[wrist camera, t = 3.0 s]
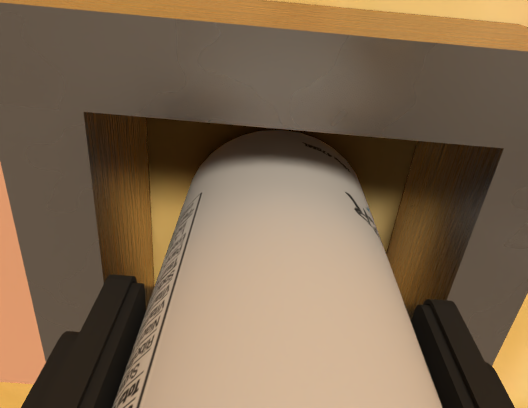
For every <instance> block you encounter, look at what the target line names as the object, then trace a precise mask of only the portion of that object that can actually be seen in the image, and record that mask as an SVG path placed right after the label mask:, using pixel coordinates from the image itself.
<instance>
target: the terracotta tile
mask: <svg viewBox="0 0 528 408" xmlns="http://www.w3.org/2000/svg"><path fill="white" fill-rule="evenodd" d="M45 363H46V361H45V356H44V352H43V348H42V343H41V339H40V334H39V330H38V326H37V321H36V317H35V312H34V308H33V303H32V299H31V295H30V290H29V286H28V281H27V277H26V273H25V268H24V264H23V259H22V255H21V251H20V246H19V242H18V237H17V233H16V228H15V224H14V220H13V215H12V211H11V206H10V202H9V198H8V193H7V189H6V184H5V180H4V176H3V171H2V167H1V162H0V382H11V383H25V384H34V383H35V381H36V380H37V378H38V376H39V374H40V372H41V370H42V369H43V367H44V365H45Z"/></svg>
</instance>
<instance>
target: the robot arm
mask: <svg viewBox="0 0 528 408" xmlns="http://www.w3.org/2000/svg"><path fill="white" fill-rule="evenodd" d="M145 313H146V301H145V286H144V284H143V283H137V280H136V277H135V276H125V275H112V274H110V275H109V276H108V277H107V279H106V281H105V283H104V285H103V287H102V289H101V291H100V293H99V295H98V297H97V299H96V301H95V303H94V305H93V307H92V309H91V311H90V313H89V315H88V317H87V319H86V321H85V323H84V325H83V326H82V328H81V330H80V332H74V331H66V332H64V333H63V334H62V335H61V337H60V338H59V340H58V341H57V343H56V345H55V347H54V349H53V350H52V352H51V354H50V356H49V358H48V359H47V361H46V363H45V365H44V367H43V369H42V370H41V372H40V374H39V376H38V378H37V380H36V381H35V383H34V385H33V387H32V389H31V390H30V392H29V394H28V396H27V398H26V400H25V401H24V403H23V405H22V407H21V408H112V407H113V404H114V401H115V398H116V395H117V392H118V389H119V387H120V384H121V381H122V378H123V375H124V372H125V370H126V367H127V364H128V361H129V358H130V355H131V352H132V350H133V347H134V344H135V341H136V338H137V335H138V333H139V330H140V327H141V324H142V321H143V318H144V315H145ZM411 323H412V325H413V328H414V331H415V334H416V336H417V339H418V342H419V344H420V347H421V350H422V352H423V355H424V358H425V361H426V363H427V366H428V369H429V371H430V374H431V377H432V380H433V382H434V385H435V388H436V390H437V393H438V396H439V398H440V401H441V404H442V407H443V408H515V407H514V405H513V403H512V401H511V400H510V398H509V396H508V394H507V392H506V390H505V388H504V386H503V384H502V382H501V380H500V379H499V377H498V375H497V373H496V371H495V370H494V368H493V367H492V366H491V365H490V364H489V363H487V362H485V361H484V359H483V357H482V355H481V353H480V351H479V349H478V347H477V345H476V343H475V341H474V339H473V337H472V335H471V333H470V331H469V329H468V328H467V326H466V324H465V322H464V320H463V318H462V316H461V314H460V312H459V310H458V308H457V306H456V305H455V303H454V302H453V301H448V300H435V299H426V300H425V301H424V303H423V305H417V306H416V308H415V311H414V314H413V317H412V320H411Z"/></svg>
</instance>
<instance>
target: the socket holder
mask: <svg viewBox="0 0 528 408" xmlns="http://www.w3.org/2000/svg"><path fill="white" fill-rule="evenodd" d="M146 117H149V118H161V119H172V120H184V121H195V122H207V123H218V124H230V125H241V126H253V127H264V128H276V129H287V130H299V131H310V132H322V133H333V134H345V135H356V136H367V137H379V138H390V139H402V140H413V141H417V145H416V148H415V152H414V156H413V159H412V163H411V167H410V170H409V174H408V178H407V181H406V185H405V189H404V192H403V196H402V200H401V203H400V207H399V211H398V215H397V218H396V222H395V226H394V229H393V233H392V237H391V240H390V244H389V248H388V251H387V258H388V261H389V263H390V266H391V269H392V271H393V274H394V277H395V279H396V282H397V285H398V288H399V290H400V293H401V296H402V298H403V301H404V304H405V307H406V309H407V312H408V315H409V317H410V320H412V317H413V314H414V311H415V308H416V306H417V305H423V303H424V301H425V300H426V299H435V300H448V301H453V302H454V303H455V305H456V306H457V308H458V310H459V312H460V314H461V316H462V318H463V320H464V322H465V324H466V326H467V328H468V329H469V331H470V333H471V335H472V337H473V339H474V341H475V343H476V345H477V347H478V349H479V351H480V353H481V355H482V357H483V359H484V361H485V362H487V363H489V364H490V365H491V366H492V365H493V362H494V360H495V358H496V356H497V354H498V352H499V350H500V348H501V346H502V344H503V342H504V340H505V338H506V336H507V334H508V332H509V330H510V328H511V326H512V324H513V322H514V320H515V318H516V316H517V313H518V311H519V309H520V307H521V305H522V303H523V301H524V299H525V297H526V295H527V293H528V27H526V26H522V25H519V24H510V23H500V22H489V21H478V20H468V19H457V18H447V17H436V16H426V15H415V14H404V13H394V12H383V11H373V10H362V9H352V8H341V7H330V6H320V5H309V4H299V3H288V2H278V1H267V0H0V162H1V167H2V171H3V176H4V180H5V184H6V189H7V193H8V198H9V202H10V206H11V211H12V215H13V220H14V224H15V228H16V233H17V237H18V242H19V246H20V251H21V255H22V259H23V264H24V268H25V273H26V277H27V281H28V286H29V290H30V295H31V299H32V303H33V308H34V312H35V317H36V321H37V326H38V330H39V334H40V339H41V343H42V348H43V352H44V356H45V361H47V359H48V358H49V356H50V354H51V352H52V350H53V349H54V347H55V345H56V343H57V341H58V340H59V338H60V337H61V335H62V334H63V333H64V332H66V331H74V332H80V330H81V328H82V326H83V325H84V323H85V321H86V319H87V317H88V315H89V313H90V311H91V309H92V307H93V305H94V303H95V301H96V299H97V297H98V295H99V293H100V291H101V289H102V287H103V285H104V283H105V281H106V279H107V277H108V276H109V275H110V274H112V275H125V276H135V277H136V280H137V283H143V284H144V286H145V301H146V310H147V307H148V304H149V301H150V298H151V296H152V293H153V290H154V274H153V253H152V232H151V211H150V190H149V169H148V148H147V127H146Z"/></svg>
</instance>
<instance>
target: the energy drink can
mask: <svg viewBox="0 0 528 408" xmlns="http://www.w3.org/2000/svg"><path fill="white" fill-rule="evenodd" d="M112 408H443V407H442V404H441V401H440V398H439V396H438V393H437V390H436V388H435V385H434V382H433V380H432V377H431V374H430V371H429V369H428V366H427V363H426V361H425V358H424V355H423V352H422V350H421V347H420V344H419V342H418V339H417V336H416V334H415V331H414V328H413V325H412V323H411V320H410V317H409V315H408V312H407V309H406V307H405V304H404V301H403V298H402V296H401V293H400V290H399V288H398V285H397V282H396V279H395V277H394V274H393V271H392V269H391V266H390V263H389V261H388V258H387V255H386V252H385V250H384V247H383V244H382V242H381V239H380V236H379V233H378V231H377V228H376V225H375V223H374V220H373V217H372V215H371V212H370V209H369V206H368V204H367V201H366V198H365V196H364V193H363V190H362V188H361V185H360V183H359V180H358V178H357V175H356V173H355V172H354V170H353V169H352V167H351V166H350V165H349V163H348V162H347V160H346V159H345V158H344V157H342V156H341V155H340V154H339V153H338V152H337V151H336V150H335V149H334V148H332V147H331V146H329V145H327V144H325V143H324V142H322V141H320V140H319V139H317V138H314V137H311V136H308V135H305V134H302V133H299V132H292V131H285V130H266V131H258V132H254V133H250V134H245V135H242V136H240V137H238V138H235V139H233V140H231V141H229V142H226V143H225V144H224V145H222V146H221V147H219V148H218V149H217V150H215V151H214V152H212V153H211V154H210V155H209V157H208V158H207V159H206V160H205V161H204V162H203V163H202V164H201V165H200V167H199V169H198V170H197V172H196V174H195V176H194V177H193V179H192V182H191V185H190V187H189V190H188V193H187V196H186V199H185V202H184V204H183V207H182V210H181V213H180V216H179V219H178V222H177V224H176V227H175V230H174V233H173V236H172V239H171V241H170V244H169V247H168V250H167V253H166V256H165V259H164V261H163V264H162V267H161V270H160V273H159V276H158V278H157V281H156V284H155V287H154V290H153V293H152V296H151V298H150V301H149V304H148V307H147V310H146V313H145V315H144V318H143V321H142V324H141V327H140V330H139V333H138V335H137V338H136V341H135V344H134V347H133V350H132V352H131V355H130V358H129V361H128V364H127V367H126V370H125V372H124V375H123V378H122V381H121V384H120V387H119V389H118V392H117V395H116V398H115V401H114V404H113V407H112Z"/></svg>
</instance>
